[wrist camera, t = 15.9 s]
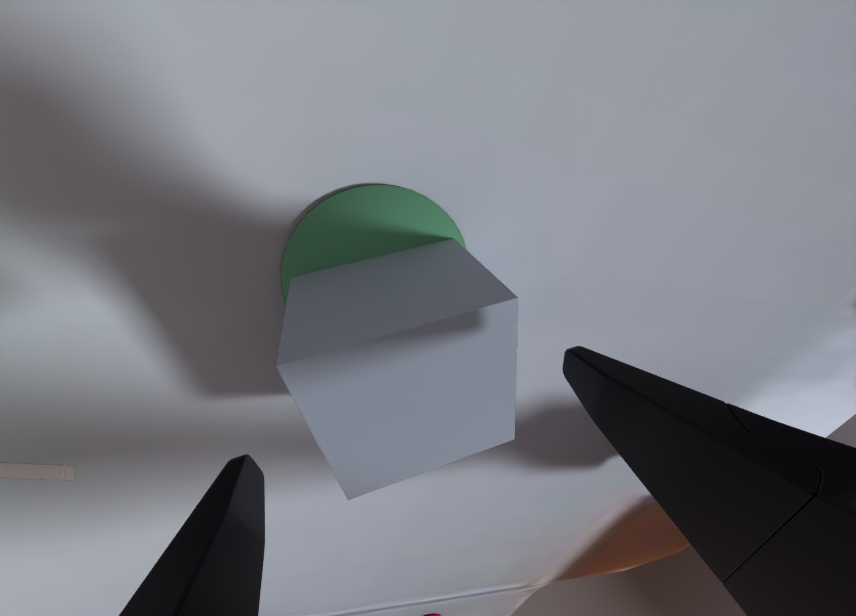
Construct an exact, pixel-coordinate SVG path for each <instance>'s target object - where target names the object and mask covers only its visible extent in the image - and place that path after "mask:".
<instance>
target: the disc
mask: <svg viewBox="0 0 856 616" xmlns="http://www.w3.org/2000/svg"><path fill="white" fill-rule="evenodd" d="M453 238H454V239H455V240H456V241H457V242H458V243H459V244H460V245H461V246H463V247H464V248H465V249H466V246H465V243H464V240H463V237H462V235H461V233H460V231H459V229H458V227H457V226H456V224H455V223H454V221H453V220H452V219H451V217H450V216H449V215H448V214H447V213H446V212H445V211H444V210H443V209H442V208H441V207H440V206H438V205H437V204H436V203H435V202H433V201H432V200H430V199H428V198H427V197H425V196H424V195H421V194H419V193H417V192H415V191H412V190H409V189H406V188H402V187H398V186H391V185H367V186H359V187H355V188H352V189H348V190H345V191H342V192H340V193H338V194H335V195H333V196H331V197H329V198H328V199H326V200H324V201H323V202H321V203H320V204H318V205H317V206H316V207H315V208H314V209H312V210H311V211H310V212H309V213H308V214H307V215H306V216H305V217H304V218H303V219H302V220H301V222H300V223H299V224H298V226H297V227H296V229H295V230H294V232H293V233H292V235H291V237H290V240H289V242H288V244H287V246H286V250H285V253H284V257H283V261H282V269H281V282H282V289H283V294H284V298H285V301H286V303H287V298H288V292H289V287H290V281H291V277H296V276H300V275H304V274H308V273H312V272H316V271H320V270H324V269H329V268H333V267H337V266H341V265H345V264H349V263H353V262H358V261H362V260H366V259H370V258H374V257H378V256H382V255H387V254H391V253H395V252H399V251H403V250H407V249H411V248H416V247H420V246H424V245H428V244H432V243H436V242H440V241H445V240H449V239H453Z"/></svg>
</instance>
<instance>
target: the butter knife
mask: <svg viewBox="0 0 856 616" xmlns="http://www.w3.org/2000/svg"><path fill="white" fill-rule="evenodd" d="M75 468H76V466H69V465H66V466H65V465H48V464H26V463H4V462H0V478H19V479H40V480H64V481H73V479H74V473H75Z"/></svg>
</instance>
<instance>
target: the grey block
mask: <svg viewBox="0 0 856 616" xmlns="http://www.w3.org/2000/svg"><path fill="white" fill-rule="evenodd" d="M517 321H518V297H517V296H516V295H515V294H514V293H512V292H511V291H510V290H509V289H508V288H507V287H506V286H505V285H504V284H503V283H502V282H501V281H499V280H498V279H497V278H496V277H495V276H494V275H493V274H492V273H491V272H490V271H489V270H488V269H486V268H485V267H484V266H483V265H482V264H481V263H480V262H479V261H478V260H477V259H476V258H474V257H473V256H472V255H471V254H470V253H469V252H468V251H467V250H466V249H465V248H464V247H463V246H461V245H460V244H459V243H458V242H457V241H456V240H455V239H454V238H453V239H449V240H445V241H440V242H436V243H432V244H428V245H424V246H420V247H416V248H411V249H407V250H403V251H399V252H395V253H391V254H387V255H382V256H378V257H374V258H370V259H366V260H362V261H358V262H353V263H349V264H345V265H341V266H337V267H333V268H329V269H324V270H320V271H316V272H312V273H308V274H304V275H300V276H296V277H291V281H290V287H289V292H288V298H287V304H286V310H285V315H284V321H283V327H282V333H281V338H280V344H279V350H278V356H277V361H276V368H277V370H278V372H279V374H280V376H281V377H282V379H283V381H284V383H285V385H286V387H287V388H288V390H289V392H290V394H291V396H292V398H293V400H294V401H295V403H296V405H297V407H298V409H299V411H300V412H301V414H302V416H303V418H304V420H305V422H306V423H307V425H308V427H309V429H310V431H311V433H312V435H313V436H314V438H315V440H316V442H317V444H318V446H319V447H320V449H321V451H322V453H323V455H324V457H325V458H326V460H327V462H328V464H329V466H330V468H331V470H332V471H333V473H334V475H335V477H336V479H337V481H338V482H339V484H340V486H341V488H342V490H343V492H344V493H345V495H346V497H347V499H348V500H350V499H352V498H355V497H358V496H361V495H363V494H366V493H369V492H372V491H374V490H377V489H380V488H383V487H385V486H388V485H391V484H394V483H396V482H399V481H402V480H405V479H407V478H410V477H413V476H416V475H418V474H421V473H424V472H427V471H429V470H432V469H435V468H438V467H440V466H443V465H446V464H449V463H451V462H454V461H457V460H459V459H462V458H465V457H468V456H470V455H473V454H476V453H479V452H481V451H484V450H487V449H490V448H492V447H495V446H498V445H501V444H503V443H506V442H509V441H512V440H514V439H515V403H516V362H517Z"/></svg>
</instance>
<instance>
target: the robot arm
mask: <svg viewBox="0 0 856 616" xmlns="http://www.w3.org/2000/svg"><path fill="white" fill-rule="evenodd" d="M563 374H564V376H565V378H566V380H567V381H568V383H569V384H570V386H571V387H572V389H573V391H574V392H575V394H576V395H577V397H578V398H579V400H580V401H581V403H582V405H583V406H584V408H585V409H586V411H587V412H588V414H589V415H590V417H591V418H592V420H593V421H594V422H595V424H596V425H597V426H598V428H599V429H600V430H601V432H602V433H603V434H604V435H605V437H606V438H607V439H608V440H609V442H610V443H611V444H612V445H613V447H614V448H615V449H616V450H617V452H618V453H619V454H620V456H621V457H622V458H623V459H624V461H625V462H626V463H627V464H628V466H629V467H630V468H631V469H632V471H633V472H634V473H635V474H636V476H637V477H638V478H639V480H640V481H641V482H642V483H643V485H644V486H645V487H646V488H647V490H648V491H649V492H650V493H651V495H652V496H653V497H654V498H655V500H656V501H657V502H658V503H659V505H660V506H661V507H662V509H663V510H664V511H665V512H666V514H667V515H668V516H669V517H670V519H671V520H672V521H673V522H674V524H675V525H676V526H677V527H678V529H679V530H680V531H681V533H682V534H683V535H684V536H685V538H686V539H687V540H688V541H689V543H690V544H691V545H692V546H693V548H694V549H695V550H696V551H697V553H698V554H699V555H700V557H701V558H702V559H703V560H704V562H705V563H706V564H707V565H708V567H709V568H710V569H711V570H712V572H713V573H714V574H715V575H716V577H717V578H718V579H719V580H720V582H722V583H723V586H724V587H725V588H726V590H727V591H728V592H729V593H730V595H731V596H732V597H733V598H734V600H735V601H736V602H737V603H738V605H739V606H740V607H741V609H742V610H743V611H744V612H745V614H746V615H747V616H856V448H854V447H851V446H848V445H845V444H842V443H839V442H836V441H833V440H830V439H827V438H824V437H821V436H818V435H815V434H812V433H809V432H806V431H803V430H800V429H797V428H794V427H791V426H788V425H786V424H783V423H780V422H777V421H774V420H771V419H769V418H766V417H763V416H761V415H758V414H755V413H752V412H750V411H747V410H745V409H742V408H739V407H737V406H734V405H732V404H729V403H727V404H726V403H725V402H724V401H721V400H718V399H716V398H713V397H711V396H708V395H706V394H703V393H700V392H698V391H695V390H693V389H690V388H687V387H685V386H682V385H680V384H677V383H675V382H672V381H669V380H667V379H664V378H662V377H659V376H657V375H654V374H651V373H649V372H646V371H644V370H641V369H638V368H636V367H633V366H631V365H628V364H626V363H623V362H620V361H618V360H615V359H613V358H610V357H607V356H605V355H602V354H600V353H597V352H595V351H592V350H589V349H587V348H584V347H581V346H576V347H572V348H569V349H567V350H566V351H565V354H564V362H563ZM264 547H265V496H264V475H263V472H262V471H261V469H260V468H259V467H258V465H257V464H256V463H255V461H254V460H253V459H252V457H251V456H250V455H247V454H246V455H242V456H239V457H236V458H233V459H231V460H230V461H229V462H228V463H227V464H226V465H225V467H224V468H223V469H222V471H221V472H220V474H219V475H218V477H217V478H216V479H215V481H214V482H213V484H212V485H211V486H210V488H209V489H208V491H207V492H206V493H205V495H204V496H203V498H202V499H201V500H200V502H199V503H198V505H197V506H196V508H195V509H194V510H193V512H192V513H191V515H190V516H189V517H188V519H187V520H186V522H185V523H184V524H183V526H182V527H181V529H180V530H179V532H178V533H177V534H176V536H175V537H174V539H173V540H172V541H171V543H170V544H169V546H168V547H167V548H166V550H165V551H164V553H163V554H162V556H161V557H160V558H159V560H158V561H157V563H156V564H155V565H154V567H153V568H152V570H151V571H150V572H149V574H148V575H147V577H146V578H145V579H144V581H143V582H142V584H141V585H140V587H139V588H138V589H137V591H136V592H135V594H134V595H133V596H132V598H131V599H130V601H129V602H128V603H127V605H126V606H125V608H124V609H123V611H122V612H121V613H120V615H119V616H258V611H259V601H260V591H261V580H262V570H263V560H264Z"/></svg>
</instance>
